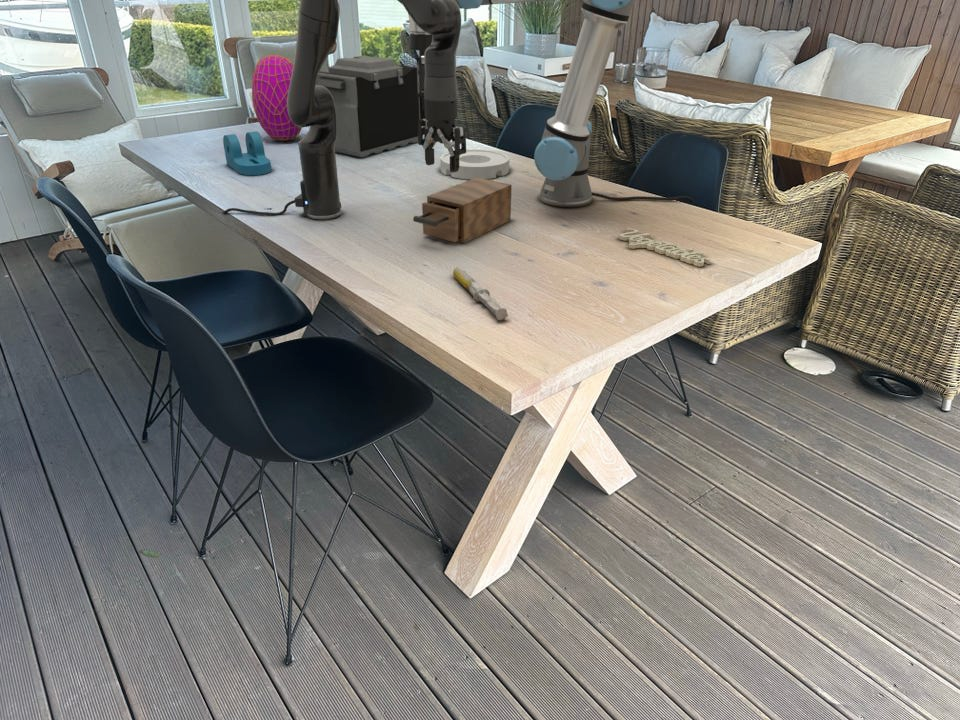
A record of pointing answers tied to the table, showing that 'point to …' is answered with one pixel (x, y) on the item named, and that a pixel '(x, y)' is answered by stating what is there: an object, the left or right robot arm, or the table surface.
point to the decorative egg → (273, 97)
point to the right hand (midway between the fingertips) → (426, 117)
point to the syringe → (479, 293)
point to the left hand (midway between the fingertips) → (442, 168)
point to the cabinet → (477, 205)
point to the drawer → (440, 221)
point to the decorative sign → (663, 247)
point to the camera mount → (246, 154)
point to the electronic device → (372, 104)
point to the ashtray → (477, 164)
